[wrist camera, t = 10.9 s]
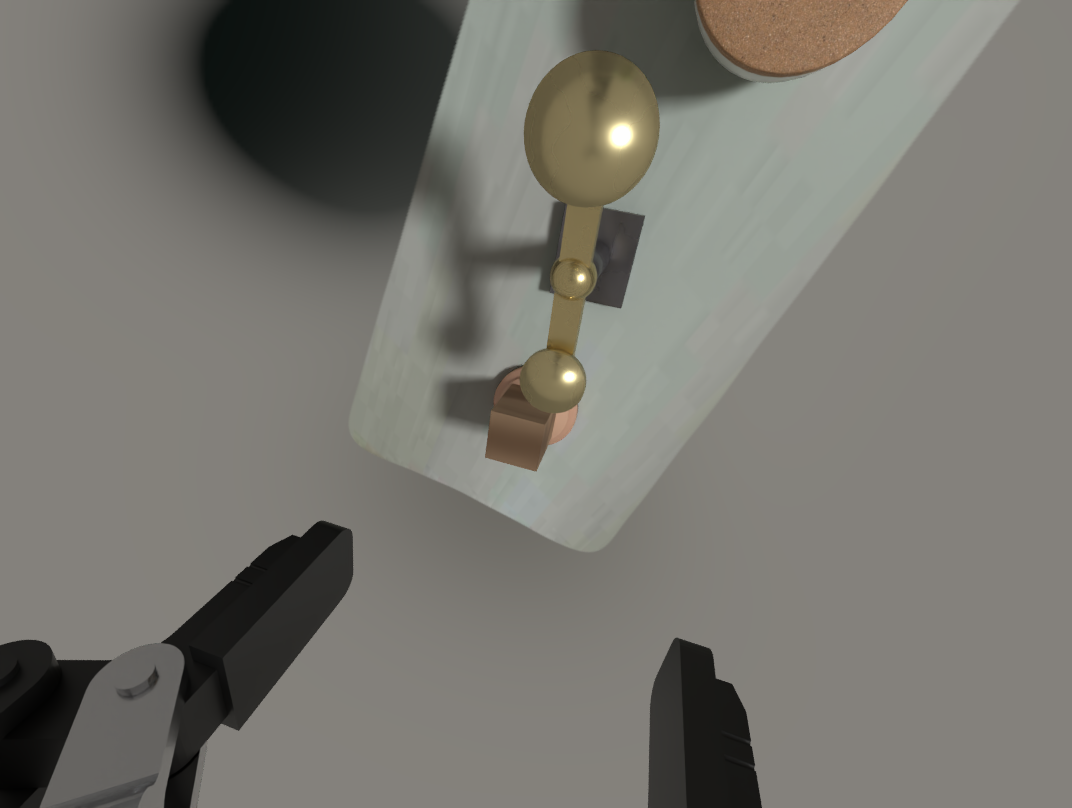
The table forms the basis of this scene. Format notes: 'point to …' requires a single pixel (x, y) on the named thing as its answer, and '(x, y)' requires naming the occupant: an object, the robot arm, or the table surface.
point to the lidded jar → (788, 33)
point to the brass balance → (586, 200)
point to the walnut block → (518, 431)
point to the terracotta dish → (563, 419)
